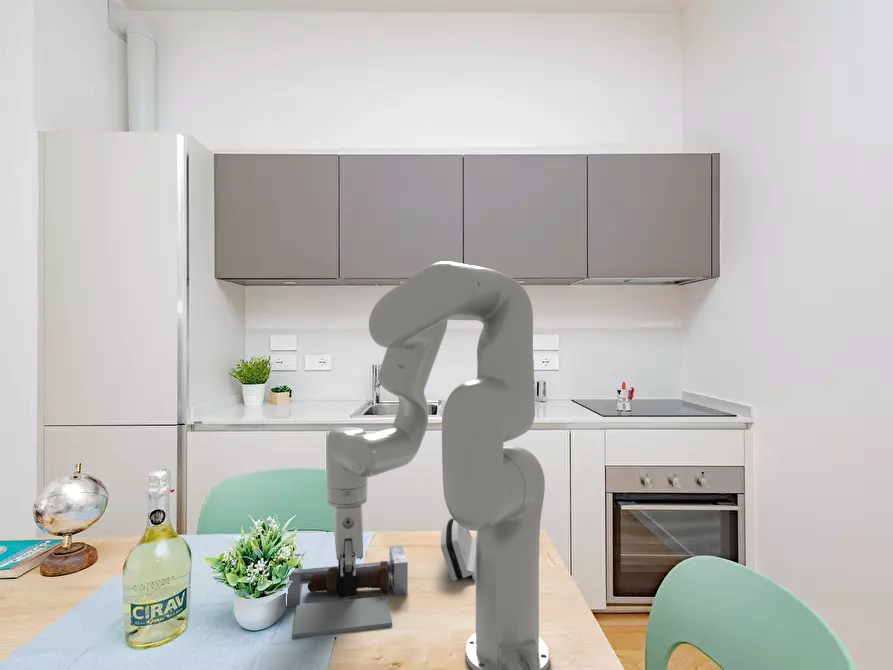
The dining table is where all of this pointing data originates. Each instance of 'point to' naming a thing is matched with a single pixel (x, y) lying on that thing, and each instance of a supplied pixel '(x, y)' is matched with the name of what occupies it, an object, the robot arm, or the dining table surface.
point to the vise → (396, 569)
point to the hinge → (458, 550)
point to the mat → (341, 616)
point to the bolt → (364, 580)
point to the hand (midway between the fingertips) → (347, 585)
